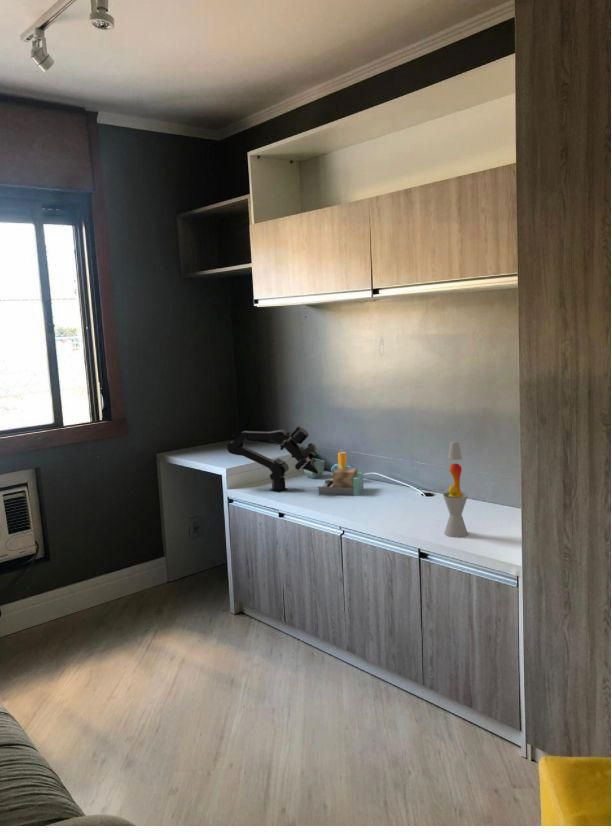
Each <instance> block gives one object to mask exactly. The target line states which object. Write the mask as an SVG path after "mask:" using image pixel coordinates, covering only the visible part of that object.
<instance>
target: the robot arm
mask: <svg viewBox="0 0 612 834" xmlns="http://www.w3.org/2000/svg"><path fill="white" fill-rule="evenodd" d="M309 436H310V434H309V433H308V431H307V430H306V429H304V428H303V427H301V426H300V425H299V426H297V427H296V428H295V430H294V431H293V432H288V431H286V430H285V429H278V430H272V431H254V430H253V431H252V430H244V431H242V432H241V433H240V435H238V436H237V437H236V438H235V439H234V440H233V441H230V442H229V443H228V444H227V447H226V449H227V452H228V453H229V454H232V455H235V456H242V457H245V458H247V459H249V460H251V461H253V462H255V463H257V464H260V465H261V466H263V467H265V468H267V469H268V470H270V471H271V473H270V475H269V478H270V480H271V488H270V489H269V491H272V492H277V493H279V492H283V491H287V490H288V488H287V487H286V481H285V479H286V478H285V477H286V474H287V473H288V472H289V468H290V467H289V465H288V463H287V462H286V460H283V459H280V458H276V459H272V458H269V457H267V456H265V455H263V454H262V453H259V452H257V451H255V450H252V449H251V448H249V447H248V446H247V445H246V444H245V443H246V442H247V440H250V441H251V440H252V441H253V440H254V441H270V442H272V443H277V444H280V451H283V450H286V451H287V452H288V454H290V455H291V458H292V459H293V458H294V459H295V460H296V461H297V462H296V463H295V464H294V468H295V469H296V470H297V471H299V470H300V469H302V470H304V469H305V470H308V471H311V472H313V473H316V474H317V473H318V470H317V468H316V467H315V465H314V463H313V459H315V458H314V457H315V456H316V453H315V451H317V447H316V444H314V443H312V442H310V443H308V444H307V446H306V447H303V446H301V447H300V445H302V443H303V442H304V441H306V439H307V438H308V437H309ZM303 466H304V467H303Z"/></svg>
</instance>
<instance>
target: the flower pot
mask: <svg viewBox="0 0 612 834" xmlns="http://www.w3.org/2000/svg"><path fill="white" fill-rule="evenodd" d="M313 463H314V465H315V467H316V468H317V470H318V473H317V474H316V473H313V472H311V471H308V470H305V469H303V471H304V474H305V475H306V477H307V478H310V479H313V478H314V479H318V478H321V477H322V476H323V473H324V470H325V463H326V461H325V460H323V459H318V458H314V459H313ZM303 467H304V466H302V468H303Z"/></svg>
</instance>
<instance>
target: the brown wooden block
mask: <svg viewBox="0 0 612 834" xmlns="http://www.w3.org/2000/svg"><path fill="white" fill-rule="evenodd" d="M335 469H336V470H333V473H332V480H333V487H354V486H353V479H354V478H355V476H356V475H357V474H358V468H355V467H354V468H353V467H351V468H349V467H348V468H337V467H336V468H335Z"/></svg>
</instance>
